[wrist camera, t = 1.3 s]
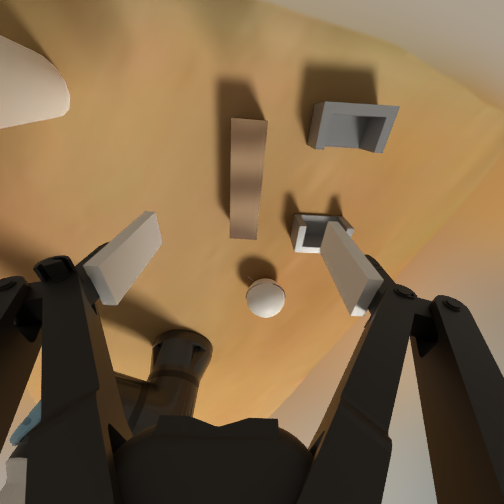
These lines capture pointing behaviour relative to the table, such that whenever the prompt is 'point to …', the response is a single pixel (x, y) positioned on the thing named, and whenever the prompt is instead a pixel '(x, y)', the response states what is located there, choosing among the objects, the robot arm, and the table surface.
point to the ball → (265, 297)
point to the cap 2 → (313, 231)
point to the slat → (246, 175)
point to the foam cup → (29, 86)
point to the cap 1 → (351, 125)
